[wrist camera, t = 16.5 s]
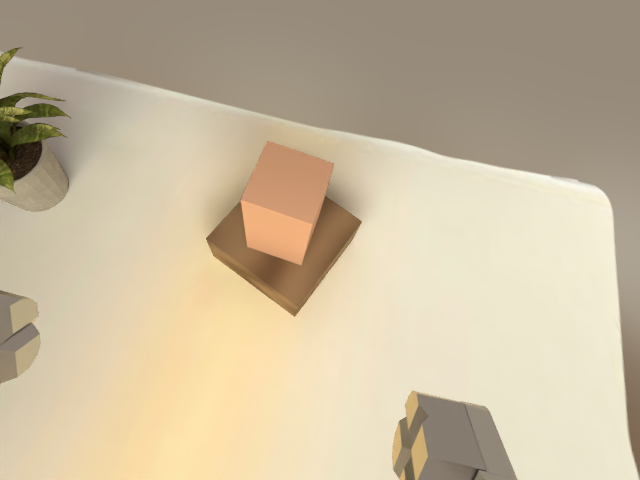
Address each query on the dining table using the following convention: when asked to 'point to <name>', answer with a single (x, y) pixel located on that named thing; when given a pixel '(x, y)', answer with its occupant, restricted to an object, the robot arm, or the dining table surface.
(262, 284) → the walnut block
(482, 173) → the dining table surface
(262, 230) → the terracotta block
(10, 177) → the house plant
